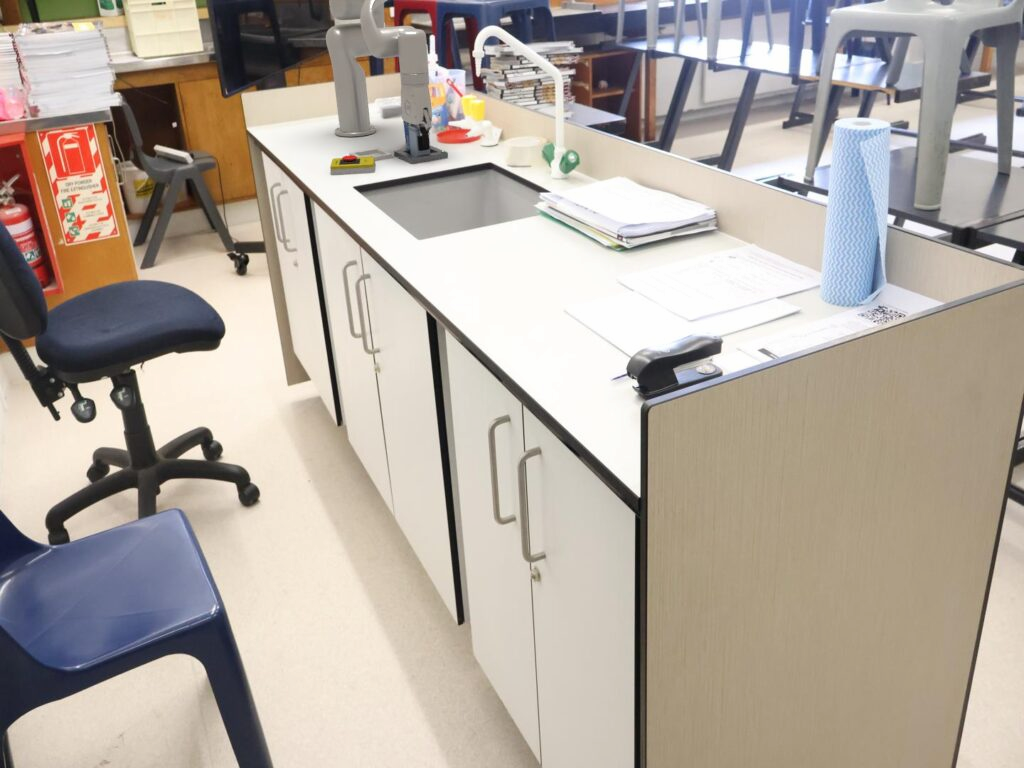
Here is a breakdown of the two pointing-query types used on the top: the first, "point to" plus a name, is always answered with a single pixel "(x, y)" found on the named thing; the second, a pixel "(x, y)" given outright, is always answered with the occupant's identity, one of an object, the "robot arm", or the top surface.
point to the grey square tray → (373, 154)
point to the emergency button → (352, 165)
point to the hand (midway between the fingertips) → (420, 147)
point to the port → (407, 157)
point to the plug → (415, 141)
